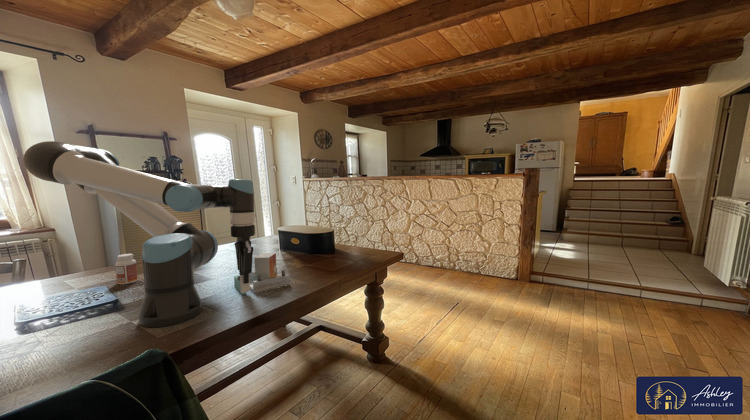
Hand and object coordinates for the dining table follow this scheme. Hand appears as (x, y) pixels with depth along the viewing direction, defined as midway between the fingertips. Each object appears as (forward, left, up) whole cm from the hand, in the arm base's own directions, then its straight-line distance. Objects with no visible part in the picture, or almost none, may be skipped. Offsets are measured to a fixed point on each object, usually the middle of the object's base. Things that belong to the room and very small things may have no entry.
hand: (245, 291), depth 98 cm
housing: (+10, +7, -1) cm, 12 cm away
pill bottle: (-32, +45, -2) cm, 55 cm away
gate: (0, +7, -1) cm, 7 cm away
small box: (+10, +7, -1) cm, 12 cm away
